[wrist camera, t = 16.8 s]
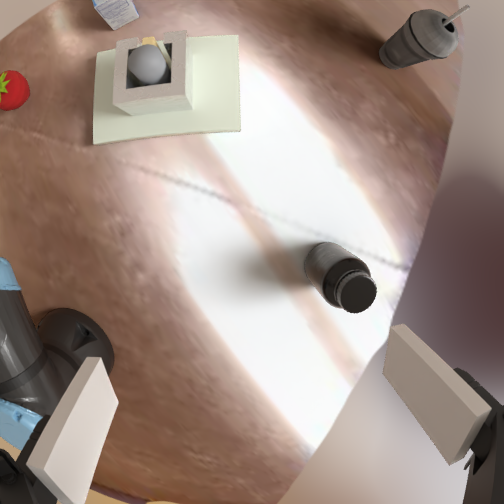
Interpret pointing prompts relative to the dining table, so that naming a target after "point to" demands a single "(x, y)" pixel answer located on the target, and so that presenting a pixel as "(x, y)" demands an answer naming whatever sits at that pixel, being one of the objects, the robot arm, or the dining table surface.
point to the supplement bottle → (340, 277)
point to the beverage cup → (421, 39)
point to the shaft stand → (159, 72)
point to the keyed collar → (162, 95)
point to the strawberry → (13, 90)
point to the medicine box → (116, 12)
